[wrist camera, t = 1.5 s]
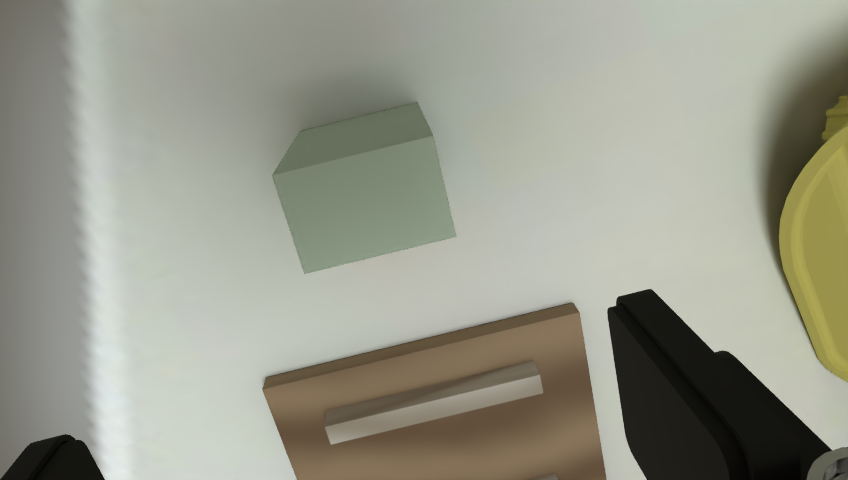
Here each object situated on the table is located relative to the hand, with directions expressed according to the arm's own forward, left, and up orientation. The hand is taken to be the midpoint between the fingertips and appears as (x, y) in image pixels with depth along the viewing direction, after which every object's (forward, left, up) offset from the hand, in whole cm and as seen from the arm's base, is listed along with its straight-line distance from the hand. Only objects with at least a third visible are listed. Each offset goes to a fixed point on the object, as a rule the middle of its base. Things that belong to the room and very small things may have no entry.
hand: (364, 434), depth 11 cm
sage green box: (0, 0, -22) cm, 22 cm away
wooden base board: (+22, 0, -22) cm, 31 cm away
